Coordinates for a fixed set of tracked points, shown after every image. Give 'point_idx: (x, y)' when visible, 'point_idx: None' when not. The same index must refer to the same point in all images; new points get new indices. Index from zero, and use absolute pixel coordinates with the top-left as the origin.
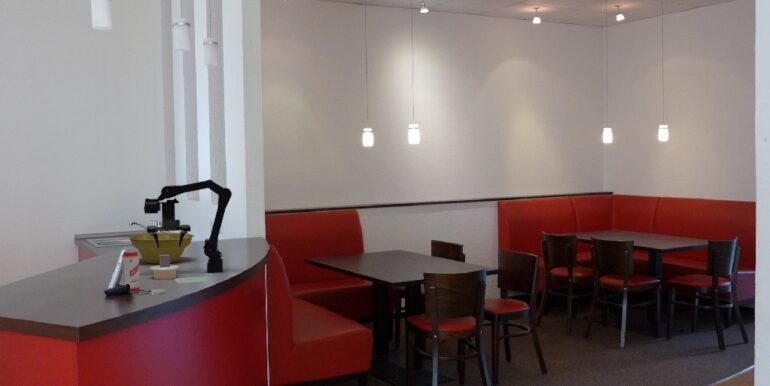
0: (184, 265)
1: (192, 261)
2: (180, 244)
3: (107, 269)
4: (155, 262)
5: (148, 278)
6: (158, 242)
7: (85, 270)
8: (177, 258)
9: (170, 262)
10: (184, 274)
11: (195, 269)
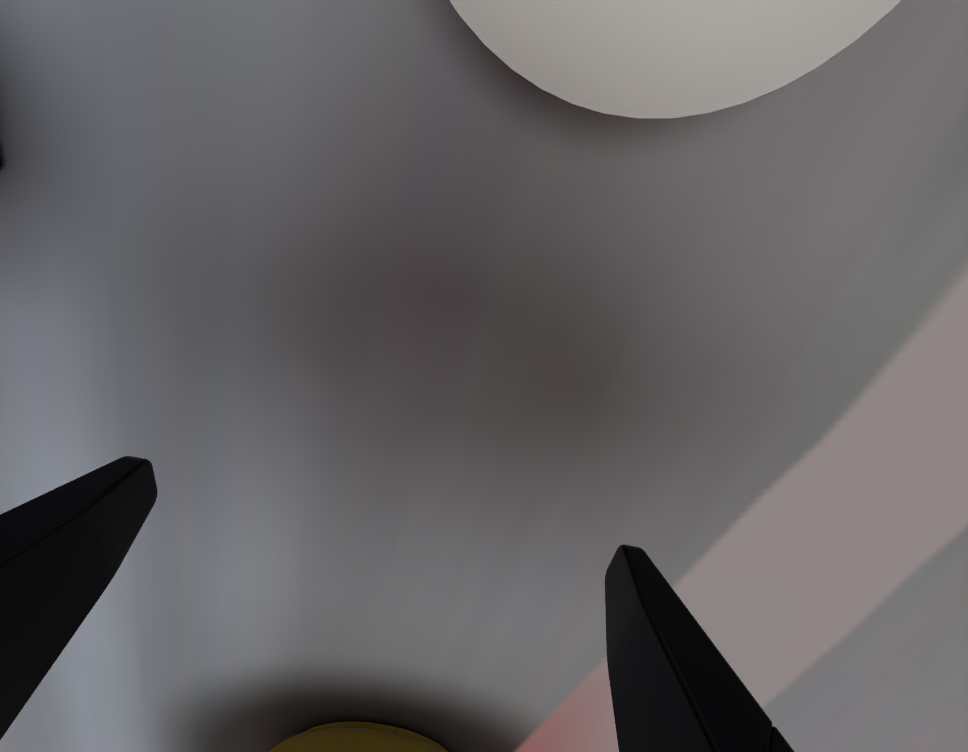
0: (251, 623)
1: (191, 708)
2: (60, 492)
3: (771, 710)
4: (424, 742)
5: (808, 73)
6: (676, 673)
7: (899, 735)
8: (276, 747)
9: (331, 723)
10: (295, 159)
11: (163, 427)
